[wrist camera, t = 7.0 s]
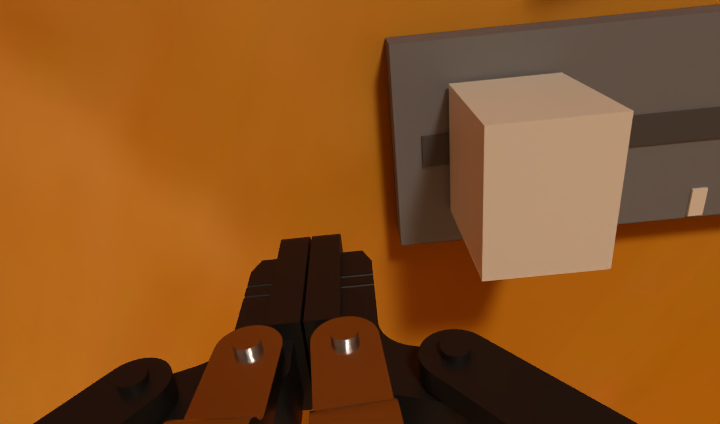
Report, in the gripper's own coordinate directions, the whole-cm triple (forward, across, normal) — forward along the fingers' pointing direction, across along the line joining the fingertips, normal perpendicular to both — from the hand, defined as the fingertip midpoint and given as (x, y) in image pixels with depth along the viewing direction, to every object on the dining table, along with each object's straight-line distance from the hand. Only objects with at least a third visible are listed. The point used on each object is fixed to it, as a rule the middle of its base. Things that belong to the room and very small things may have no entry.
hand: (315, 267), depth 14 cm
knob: (+7, -7, 0) cm, 10 cm away
